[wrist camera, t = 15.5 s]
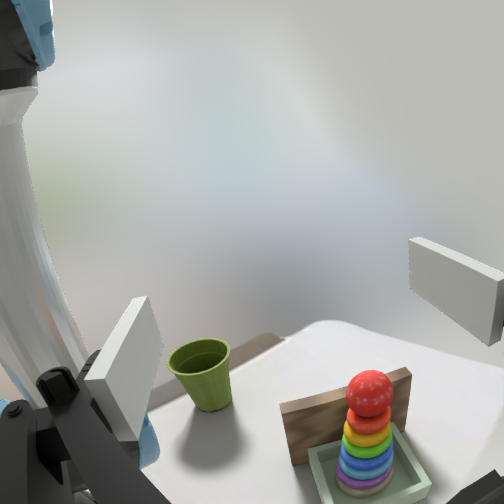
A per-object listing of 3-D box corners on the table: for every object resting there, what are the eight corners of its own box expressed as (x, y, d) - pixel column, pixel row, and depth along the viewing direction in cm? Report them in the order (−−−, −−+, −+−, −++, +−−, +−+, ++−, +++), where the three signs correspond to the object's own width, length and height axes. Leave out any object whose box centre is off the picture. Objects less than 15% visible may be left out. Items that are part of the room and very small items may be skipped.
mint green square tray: (330, 533, 27) (330, 522, 26) (309, 463, 39) (307, 448, 38) (426, 497, 27) (432, 483, 26) (391, 438, 40) (393, 421, 39)
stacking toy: (401, 486, 30) (422, 388, 25) (343, 507, 29) (344, 416, 25) (380, 448, 37) (387, 347, 33) (328, 465, 37) (320, 368, 32)
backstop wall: (292, 465, 40) (281, 413, 36) (290, 456, 41) (279, 403, 38) (404, 430, 40) (412, 374, 37) (399, 423, 42) (405, 366, 39)
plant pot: (195, 382, 65) (180, 338, 62) (248, 382, 62) (236, 336, 59) (175, 419, 54) (155, 373, 51) (235, 422, 51) (220, 374, 48)
